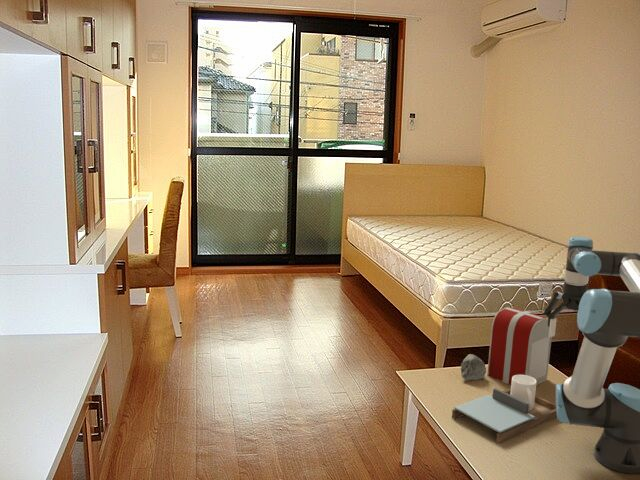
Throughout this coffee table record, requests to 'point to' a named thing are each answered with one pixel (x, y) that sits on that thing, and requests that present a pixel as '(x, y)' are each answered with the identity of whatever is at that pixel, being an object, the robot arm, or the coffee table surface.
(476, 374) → the stone
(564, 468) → the coffee table surface
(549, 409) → the brown wooden frame
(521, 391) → the mug
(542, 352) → the red striped arch block
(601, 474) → the coffee table surface
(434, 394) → the coffee table surface
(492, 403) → the lid
